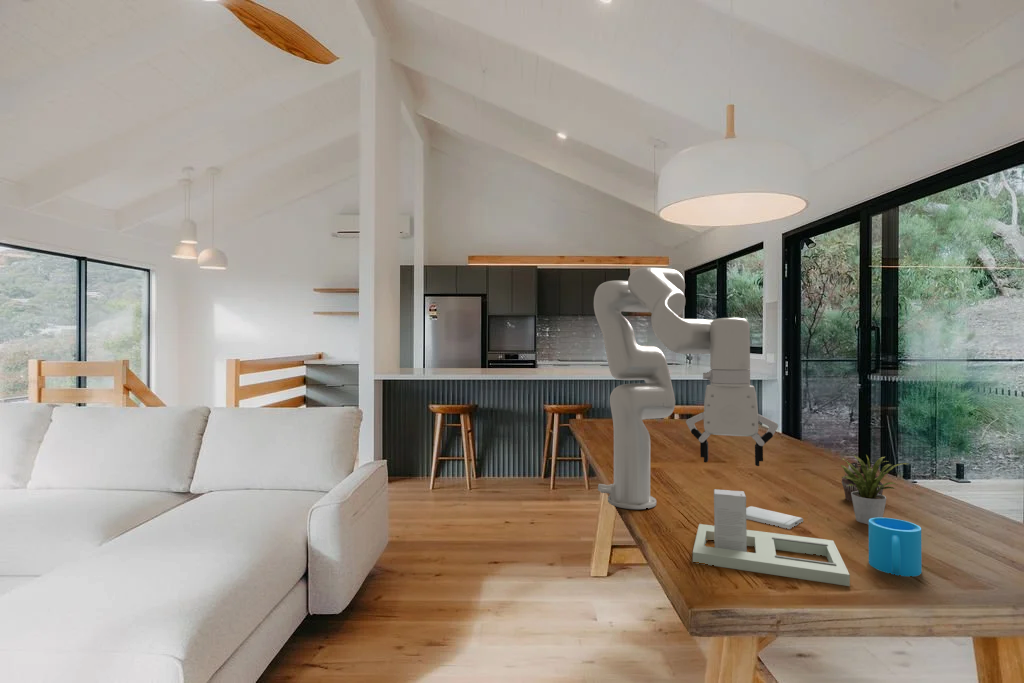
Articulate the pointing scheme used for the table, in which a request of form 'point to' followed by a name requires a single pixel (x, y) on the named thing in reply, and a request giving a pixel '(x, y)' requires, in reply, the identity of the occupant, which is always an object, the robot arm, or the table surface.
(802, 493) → the table surface
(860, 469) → the cupcake
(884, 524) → the mug
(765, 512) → the hard drive
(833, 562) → the socket board
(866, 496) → the house plant
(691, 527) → the table surface
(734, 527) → the skincare box
